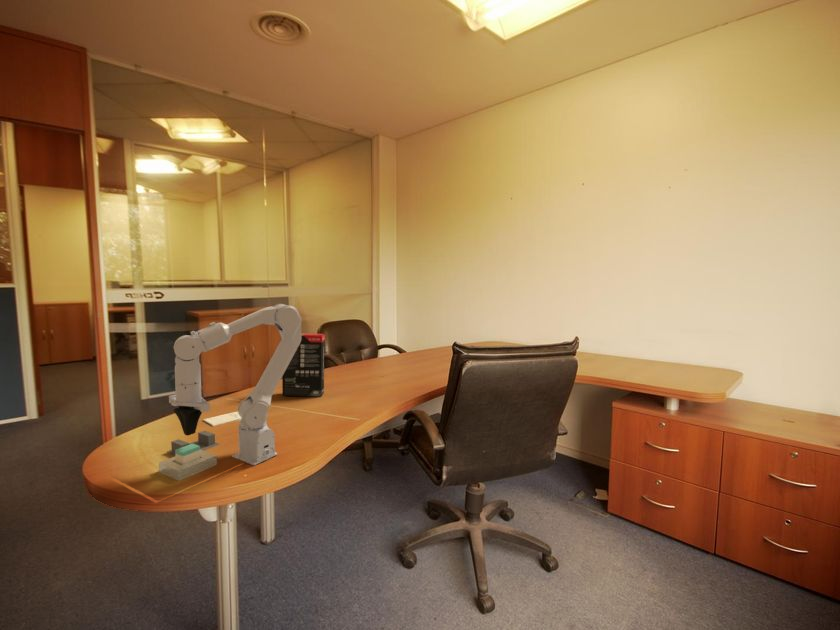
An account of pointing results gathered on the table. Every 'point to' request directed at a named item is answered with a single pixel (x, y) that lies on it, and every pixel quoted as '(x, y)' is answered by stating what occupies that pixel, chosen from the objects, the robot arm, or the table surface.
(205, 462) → the port
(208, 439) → the holster
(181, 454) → the plug
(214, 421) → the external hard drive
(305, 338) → the graphics card box
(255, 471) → the table surface
